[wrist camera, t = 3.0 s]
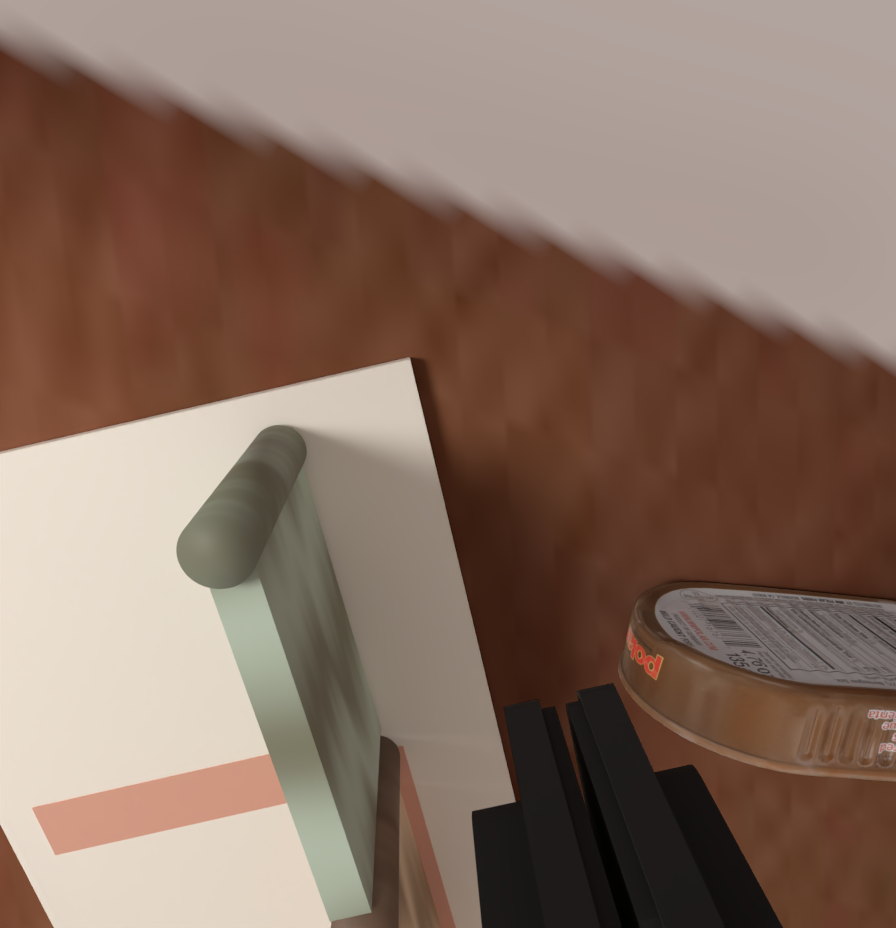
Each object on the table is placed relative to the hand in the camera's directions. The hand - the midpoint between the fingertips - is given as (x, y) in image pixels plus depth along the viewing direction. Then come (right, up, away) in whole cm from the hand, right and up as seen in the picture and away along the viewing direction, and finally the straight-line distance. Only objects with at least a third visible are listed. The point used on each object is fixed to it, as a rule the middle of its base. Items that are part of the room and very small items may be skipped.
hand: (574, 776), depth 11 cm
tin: (+11, -1, +18) cm, 21 cm away
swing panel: (-6, 0, +15) cm, 16 cm away
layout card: (-10, -7, +18) cm, 22 cm away
